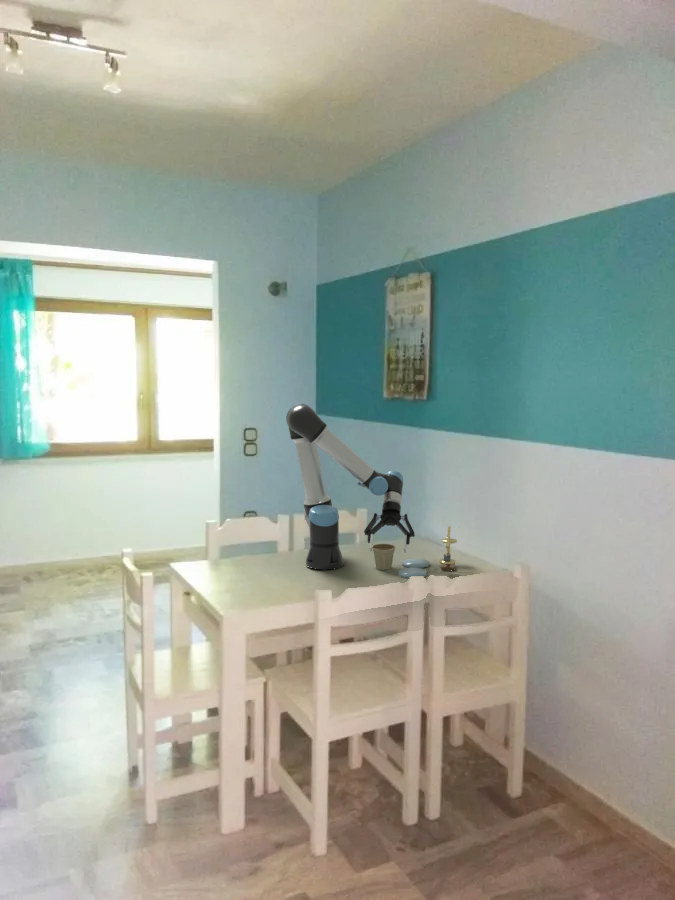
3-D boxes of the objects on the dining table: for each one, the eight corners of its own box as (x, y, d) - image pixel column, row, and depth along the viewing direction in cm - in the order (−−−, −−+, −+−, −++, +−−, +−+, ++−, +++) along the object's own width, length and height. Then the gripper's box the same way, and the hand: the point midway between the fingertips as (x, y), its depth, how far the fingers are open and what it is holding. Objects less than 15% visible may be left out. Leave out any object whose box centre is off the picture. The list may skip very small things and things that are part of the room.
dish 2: (400, 568, 274) (400, 565, 274) (403, 560, 285) (403, 558, 285) (428, 569, 272) (428, 566, 272) (430, 561, 282) (430, 559, 282)
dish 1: (396, 577, 261) (396, 575, 261) (399, 569, 272) (399, 567, 272) (425, 579, 259) (425, 576, 259) (428, 570, 270) (428, 568, 270)
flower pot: (396, 571, 270) (396, 549, 269) (372, 571, 270) (372, 550, 269) (395, 564, 279) (394, 543, 278) (371, 564, 279) (371, 543, 278)
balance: (438, 575, 263) (438, 537, 262) (442, 560, 284) (442, 524, 282) (454, 576, 262) (455, 537, 260) (457, 560, 283) (457, 525, 281)
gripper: (422, 510, 288) (419, 556, 275) (363, 509, 293) (357, 553, 280) (421, 500, 282) (418, 546, 269) (361, 499, 287) (355, 544, 274)
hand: (387, 550), depth 275 cm, fingers open, 13 cm apart
